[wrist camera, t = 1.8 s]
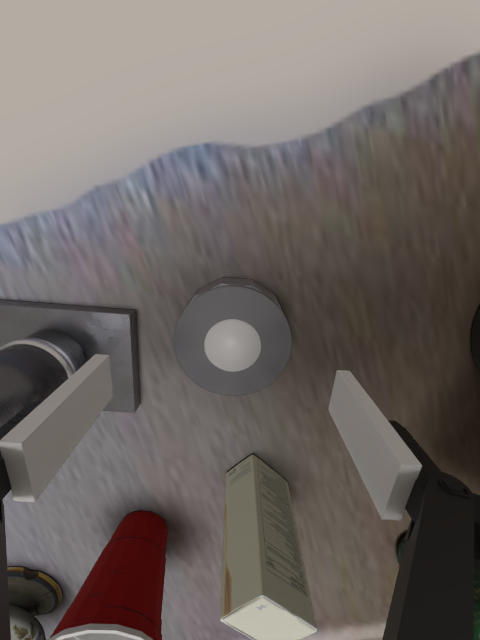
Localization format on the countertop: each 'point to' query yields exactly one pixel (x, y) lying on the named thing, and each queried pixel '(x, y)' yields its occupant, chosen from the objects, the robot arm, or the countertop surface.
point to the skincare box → (263, 557)
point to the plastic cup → (122, 586)
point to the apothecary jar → (30, 601)
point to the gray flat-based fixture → (64, 351)
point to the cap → (233, 337)
